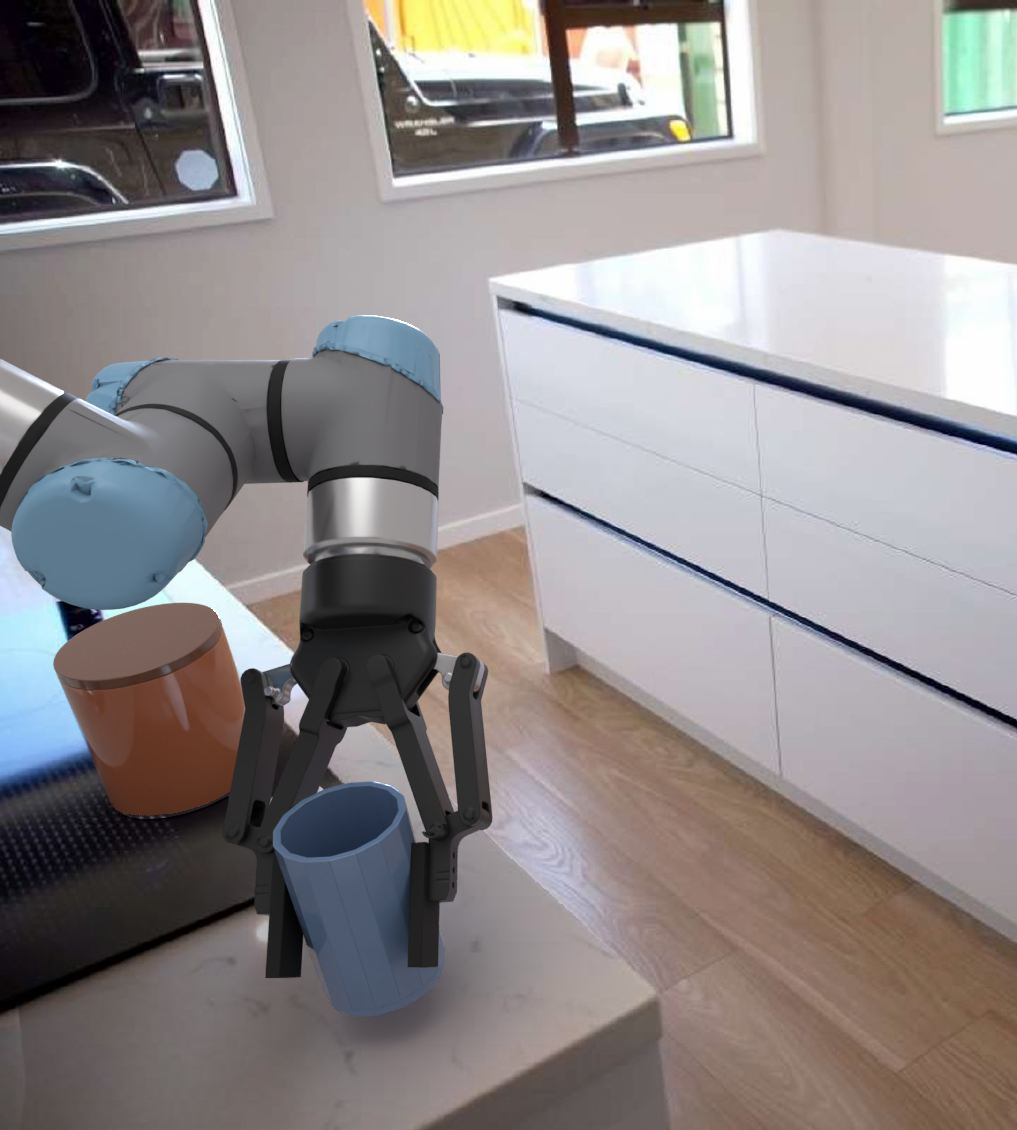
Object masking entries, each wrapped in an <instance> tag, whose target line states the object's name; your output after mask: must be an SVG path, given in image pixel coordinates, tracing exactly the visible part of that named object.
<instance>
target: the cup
mask: <svg viewBox="0 0 1017 1130" xmlns="http://www.w3.org/2000/svg"><path fill="white" fill-rule="evenodd" d="M411 843H417V838H416V835H415V830H414V827H413V824H412V820H411V817H410V813H409V810H408V806H407V803H406V798H405V795H404V794H402V793H401V792H400V791H399V790H398V789H396V787H394V786H393V785H390V784H386V783H382V782H378V781H355V782H352V781H351V782H346V783H343V784H339V785H335V786H332V787H328V788H324V789H323V790H322V791H320V792H318V793H316V794H314V795H312V796H310V797H308V798H306V799H304V800H302V801H300V802H299V803H298V804H296V805H295V806H294V807H293V808H291V809H290V810H289V811H288V812H287V813H285V814H284V815H283V816H282V818H281V819H280V821H279V823H278V824H277V826H276V827H275V829H274V830H273V847H274V850H275V853H276V856H277V859H278V862H279V865H280V868H281V871H282V874H283V877H284V880H285V883H286V886H287V889H288V891H289V894H290V897H291V900H292V903H293V906H294V909H295V912H296V915H297V918H298V921H299V924H300V927H301V930H302V933H303V939H304V941H305V944H306V947H307V951H308V954H309V956H310V959H311V962H312V964H313V968H314V971H315V973H316V976H317V979H318V982H319V985H320V988H321V992H322V993H323V994H324V996H325V998H326V1001H327V1002H328V1004H329V1005H330V1006H331V1008H332V1009H334V1010H336V1011H337V1012H339V1013H342V1014H344V1015H346V1016H347V1015H348V1016H351V1017H357V1018H358V1017H359V1018H361V1017H363V1018H365V1017H366V1018H368V1017H369V1018H370V1017H376V1016H377V1017H378V1016H382V1015H387V1014H390V1013H393V1012H396V1011H398V1010H400V1009H403V1008H405V1007H407V1006H409V1005H410V1004H412V1003H414V1002H416V1001H417V1000H419V999H420V998H421V997H423V996H424V995H425V994H427V993H428V992H429V991H430V990H431V989H432V988H433V987H434V986H435V985H436V984H437V982H438V981H439V979H440V978H441V977H442V975H443V972H444V970H445V968H446V964H447V959H448V958H447V957H448V956H447V949H446V945H445V942H444V936H443V933H442V929H441V925H440V924H439V949H438V967H427V968H416V967H408V937H409V906H410V874H411Z"/></svg>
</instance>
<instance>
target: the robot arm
mask: <svg viewBox="0 0 1017 1130" xmlns="http://www.w3.org/2000/svg"><path fill="white" fill-rule="evenodd" d="M441 385H442V384H441V354H440V351H439V348H438V347H437V346H436V345H435V343H434V342H433V340H432V339H431V337H430V336H428V335H427V334H426V333H425V332H424V331H422V330H420V328H418V327H415V326H414V325H412V324H411V323H410V324H409V323H407V322H404V321H401V320H399V319H395V318H391V317H385V316H379V315H364V314H363V315H362V314H361V315H352V316H350V317H348V318H347V319H346V320H335V321H332V322H330V323H328V324H327V325H325V326H324V327H323V328H322V329H321V330H320V331H319V333H318V335H317V338H316V345H315V346H314V347H313V349H312V355H311V357H294V358H291V359H179V358H173V357H171V358H169V357H156V358H152V359H150V360H141V361H139V360H138V361H126V362H117V363H111V364H109V365H106V366H105V367H103V368H102V369H101V370H99V372H98V373H97V374H95V376H94V378H93V380H92V382H91V392H90V393H88V394H87V396H86V399H85V400H84V399H81V398H80V397H77V396H75V395H73V394H71V393H69V392H66V391H64V390H62V389H61V388H58V387H56V386H54V385H53V384H50V383H49V382H47V381H44V380H43V379H41V378H39V377H37V376H35V375H33V374H31V373H29V372H27V371H26V370H23V369H22V368H19V367H17V366H15V365H13V364H11V363H10V362H8V361H5V360H4V359H2V358H0V527H2V528H4V529H5V530H7V531H9V532H10V533H11V535H10V536H11V545H12V547H13V551H14V554H15V556H16V559H17V561H18V563H19V564H20V566H21V567H22V568H23V570H24V571H25V572H27V573H28V574H29V575H30V577H32V578H33V580H34V581H36V582H37V584H39V586H40V587H41V590H43V591H44V592H46V593H47V594H49V596H52V597H54V598H56V599H57V600H60V601H62V602H64V603H66V604H68V605H72V606H75V607H78V608H83V609H88V610H96V611H113V610H122V609H123V610H124V609H128V608H131V607H135V606H137V605H140V604H143V603H145V602H147V601H150V600H151V599H152V598H154V597H155V596H156V595H158V594H160V592H162V591H163V590H164V589H165V588H166V587H167V586H168V585H169V584H170V583H171V582H172V580H173V579H174V578H175V577H176V576H177V575H178V574H179V573H181V572H182V571H183V570H184V569H185V568H186V566H187V565H188V564H189V563H190V562H192V561H194V560H195V559H196V558H197V556H198V555H199V553H200V552H201V550H202V549H203V547H204V545H205V544H206V537H207V536H208V535H209V534H210V532H211V530H212V529H213V527H214V526H215V524H217V522H218V520H219V519H220V517H221V516H222V515H223V514H224V512H225V511H226V510H227V509H228V508H229V506H230V505H231V503H232V502H233V501H234V500H235V499H236V497H237V496H238V494H239V492H240V491H241V490H242V489H243V487H244V485H251V484H252V485H254V484H256V485H257V484H285V483H290V484H291V483H305V482H307V489H306V497H307V502H306V513H305V525H304V535H303V537H304V538H303V550H302V557H303V559H304V561H305V562H306V563H308V564H309V565H308V566H307V567H306V568H305V569H304V570H303V571H302V574H301V586H300V587H301V590H300V604H299V619H298V622H299V623H298V624H299V625H298V626H299V627H298V628H299V642H298V645H297V648H296V650H295V652H294V653H293V655H292V657H291V659H290V662H289V663H287V664H284V665H280V666H277V667H274V668H270V669H268V670H264V671H261V670H260V669H257V668H254V667H252V668H251V667H250V668H247V669H245V670H244V671H243V672H242V673H241V675H240V678H241V680H240V682H241V688H242V693H243V699H244V705H245V713H244V719H243V724H242V730H241V735H240V740H239V746H238V751H237V757H236V762H235V767H234V773H233V778H232V784H231V789H230V794H229V796H228V800H227V805H226V811H225V816H224V817H225V818H224V821H223V822H224V823H223V826H222V827H223V828H222V838H223V840H224V842H226V843H229V844H232V845H236V846H238V847H242V848H245V849H249V850H250V851H252V852H253V853H254V855H255V856H256V869H255V871H256V872H255V884H254V885H255V888H254V901H253V906H254V909H255V912H256V915H261V916H268V928H267V929H268V930H267V945H266V962H265V975H264V976H265V977H264V978H265V979H294V978H302V968H303V967H302V966H303V965H302V964H303V945H304V935H303V933H302V930H301V927H300V924H299V921H298V918H297V915H296V912H295V909H294V906H293V903H292V900H291V897H290V894H289V891H288V889H287V886H286V883H285V880H284V877H283V874H282V871H281V868H280V865H279V862H278V859H277V856H276V853H275V850H274V847H273V830H274V829H275V827H276V826H277V824H278V823H279V821H280V819H281V818H282V816H283V815H284V814H285V813H287V812H288V811H289V810H290V809H291V808H293V807H294V806H295V805H296V804H298V803H299V802H300V801H302V800H304V799H306V798H308V797H310V796H312V795H314V794H316V793H317V792H318V789H319V787H321V784H322V782H323V779H324V777H325V774H326V772H327V769H328V767H329V765H330V762H331V760H332V757H333V754H334V752H335V749H336V748H337V746H338V745H339V744H340V743H341V742H342V741H343V739H344V737H345V735H346V734H347V733H346V732H347V730H348V728H353V727H354V728H357V727H361V726H363V725H367V724H369V723H375V724H379V725H386V726H387V728H388V729H389V731H390V733H391V735H392V737H393V740H394V744H395V746H396V747H395V748H396V749H397V751H398V755H399V759H400V762H401V764H402V767H403V770H404V773H405V776H406V778H407V782H408V783H409V787H410V790H411V793H412V796H413V799H414V802H415V806H416V809H417V811H418V813H419V816H420V820H421V822H422V825H423V829H424V830H423V831H421V834H422V835H423V837H425V838H426V839H428V842H427V841H419V842H417V841H416V842H417V843H411V874H410V906H409V937H408V967H416V968H427V967H438V949H439V925H440V906H441V905H440V904H442V903H452V902H453V903H454V901H455V898H456V895H457V893H458V863H459V862H458V861H459V860H458V859H459V847H460V846H459V845H460V844H461V842H462V840H463V839H464V838H465V837H467V836H469V835H471V834H474V833H476V832H478V831H485V830H487V829H488V828H490V827H491V826H492V823H493V818H494V817H493V809H492V808H493V807H492V799H491V788H490V776H489V768H488V767H489V766H488V758H487V757H488V756H487V746H486V738H485V736H486V735H485V729H484V727H485V726H484V718H483V708H482V699H483V696H484V691H485V687H486V683H487V679H488V676H489V667H488V665H486V664H485V662H483V661H482V660H481V659H479V658H478V657H477V656H476V655H474V654H473V653H472V652H469V651H467V652H463V653H460V654H459V655H456V654H451V653H449V654H448V653H443V652H442V651H441V649H440V647H439V645H438V644H437V641H436V628H437V627H436V625H437V591H438V589H437V587H438V586H437V585H438V584H437V583H438V577H437V575H436V574H435V573H434V572H433V570H432V568H433V567H434V566H435V565H436V564H437V562H438V539H439V538H438V537H439V510H440V508H439V507H440V502H439V500H440V499H439V497H440V495H439V493H440V492H439V490H440V489H439V487H440V486H439V485H440V467H441V466H440V464H441V443H442V441H441V440H442V425H443V424H442V423H443V415H444V409H445V408H444V405H443V403H442V394H441V393H442V391H441V390H442V386H441ZM439 673H440V676H441V684H442V687H443V688H444V689H445V690H447V691H448V693H447V695H448V697H447V700H448V701H447V702H448V716H449V726H450V727H449V728H450V736H451V737H450V738H451V747H452V759H453V769H454V780H455V792H456V793H455V794H456V803H457V810H456V811H455V810H454V807H453V805H452V802H451V798H450V796H449V793H448V790H447V788H446V784H445V782H444V779H443V775H442V773H441V770H440V767H439V764H438V761H437V759H436V755H435V753H434V750H433V748H432V744H431V741H430V739H429V736H428V733H427V729H428V727H427V724H426V721H425V718H424V715H423V712H422V710H421V707H420V704H419V700H420V699H421V698H422V696H423V695H424V693H425V692H426V691H427V689H428V688H429V686H430V685H431V684H432V682H433V681H434V679H436V677H437V675H438V674H439ZM297 685H298V687H299V688H300V689H301V691H302V692H303V694H304V695H305V696H306V698H307V699H308V700H307V703H306V705H305V708H304V710H303V712H302V715H301V718H300V719H299V723H298V731H299V732H298V735H297V738H296V740H295V742H294V745H293V747H292V750H291V752H290V755H289V757H288V759H287V762H286V764H285V766H284V769H283V771H282V774H281V776H280V778H279V781H278V783H277V785H276V788H275V791H274V793H273V787H274V780H275V776H276V769H277V764H278V758H279V753H280V747H281V741H282V734H283V731H284V725H285V723H284V722H285V707H284V706H286V705H287V704H289V703H290V702H291V700H292V698H291V696H292V690H293V688H294V687H295V686H297ZM272 793H273V795H272ZM271 798H272V800H271ZM270 800H271V802H270ZM269 804H270V805H269Z"/></svg>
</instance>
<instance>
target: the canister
mask: <svg viewBox="0 0 1017 1130" xmlns="http://www.w3.org/2000/svg"><path fill="white" fill-rule="evenodd" d="M52 665H53V670H54V672H55V675H56V677H57V680H58V682H59V683H60V687H61V689H62V691H63V693H64V696H65V698H66V701H67V704H68V706H69V709H70V711H71V713H72V716H73V717H74V720H75V723H76V725H77V728H78V730H79V732H80V734H81V737H82V739H83V742H84V744H85V746H86V749H87V751H88V754H89V756H90V758H91V759H90V760H91V761H92V763H93V766H94V768H95V770H96V773H97V776H98V778H99V780H100V782H101V785H102V788H103V789H104V792H105V794H106V796H107V800H108V802H109V804H110V803H111V804H110V806H111V805H112V806H113V807H114V808H115V809H116V810H118V811H120V812H122V813H125V814H131V815H139V816H140V815H141V816H142V815H143V816H144V815H145V816H146V815H147V816H149V815H152V816H153V815H159V814H160V815H161V814H173V813H178V812H182V811H186V810H189V809H193V808H195V807H200V806H202V805H205V804H208V803H210V802H211V801H214V800H216V799H218V798H220V797H222V796H224V795H225V794H227V793H229V792H230V789H231V784H232V778H233V773H234V767H235V762H236V757H237V751H238V746H239V740H240V735H241V730H242V724H243V719H244V713H245V705H244V699H243V693H242V688H241V682H240V680H241V675H240V672H239V670H238V667H237V663H236V660H235V658H234V655H233V651H232V649H231V646H230V643H229V640H228V637H227V635H226V632H225V629H224V625H223V622H222V620H221V617H220V615H219V613H218V612H217V611H216V610H215V609H214V608H212V607H210V606H208V605H205V604H201V603H195V602H169V603H160V604H154V605H148V606H144V607H139V608H135V609H132V610H128V611H125V612H122V613H120V614H116V615H113V616H111V617H108V618H106V619H103V620H101V621H99V622H97V623H95V624H93V625H90V626H89V627H86V628H85V629H84V630H82V631H80V632H79V633H77V634H76V635H74V636H73V637H71V638H69V640H67V641H66V642H65V643H63V645H62V646H61V647H60V648H59V649H58V650H57V652H56V653H55V656H54V658H53V662H52ZM112 806H111V807H112ZM113 807H112V808H113Z"/></svg>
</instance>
